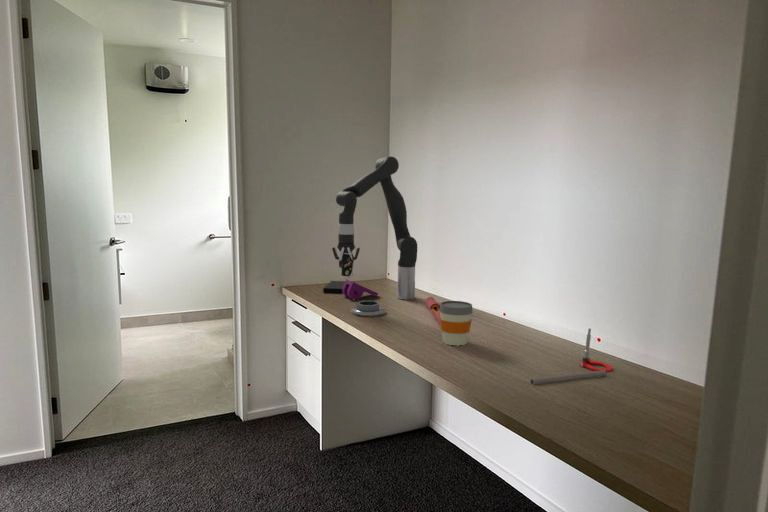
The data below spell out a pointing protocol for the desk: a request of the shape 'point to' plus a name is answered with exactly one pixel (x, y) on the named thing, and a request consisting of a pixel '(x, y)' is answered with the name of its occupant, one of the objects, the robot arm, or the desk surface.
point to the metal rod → (568, 377)
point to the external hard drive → (334, 287)
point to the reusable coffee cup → (455, 321)
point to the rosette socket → (368, 308)
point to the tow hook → (588, 361)
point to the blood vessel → (433, 307)
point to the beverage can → (347, 265)
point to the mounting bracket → (355, 290)
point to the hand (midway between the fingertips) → (346, 267)
